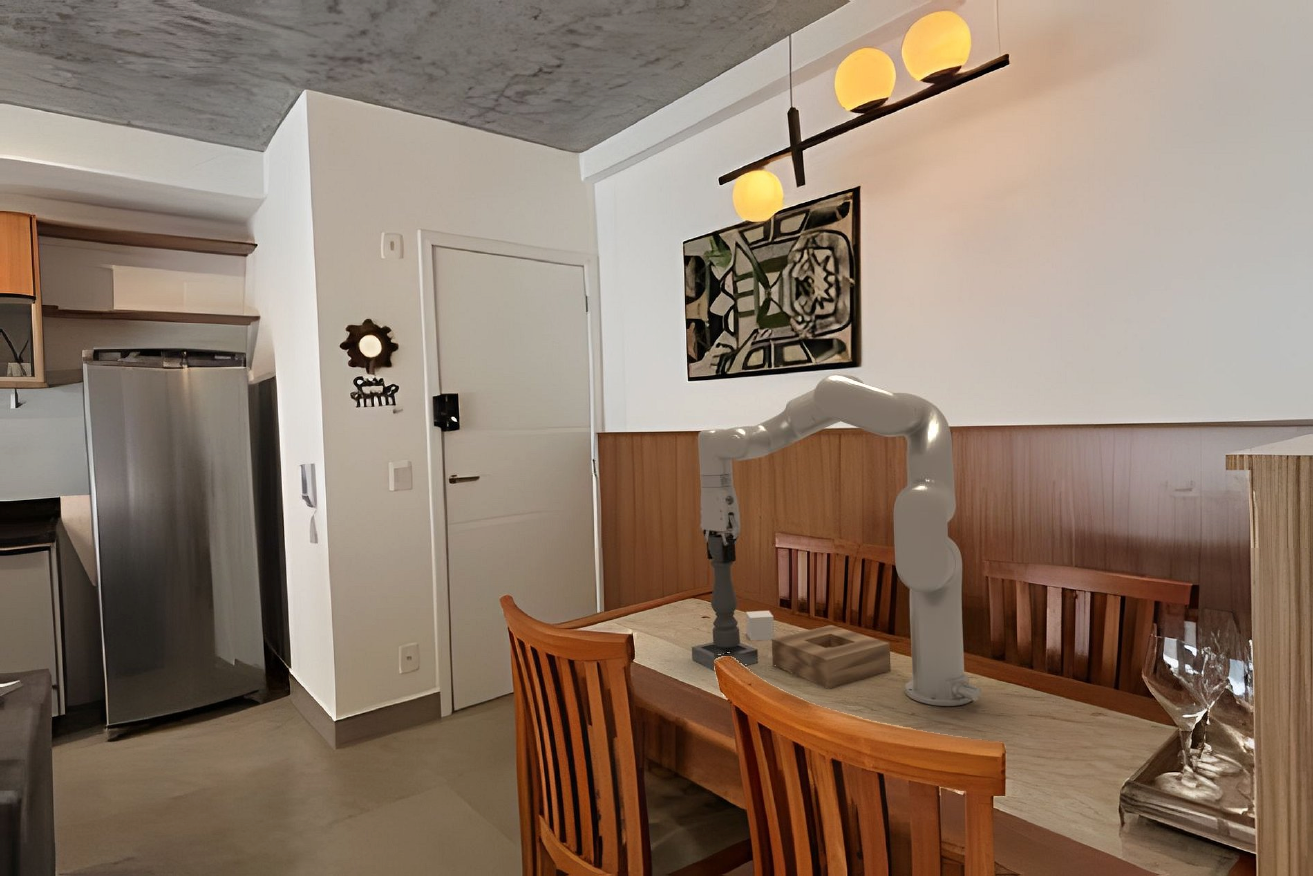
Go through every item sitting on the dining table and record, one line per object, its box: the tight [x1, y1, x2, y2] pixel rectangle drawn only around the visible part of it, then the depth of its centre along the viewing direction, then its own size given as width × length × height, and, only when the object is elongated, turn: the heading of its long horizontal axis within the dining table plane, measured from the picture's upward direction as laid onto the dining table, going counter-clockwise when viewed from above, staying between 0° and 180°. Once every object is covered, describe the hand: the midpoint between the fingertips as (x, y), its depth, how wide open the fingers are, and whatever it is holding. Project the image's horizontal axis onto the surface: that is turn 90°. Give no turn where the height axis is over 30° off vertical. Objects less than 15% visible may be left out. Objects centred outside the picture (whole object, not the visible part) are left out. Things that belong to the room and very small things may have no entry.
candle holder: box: [708, 533, 741, 647], centre depth 166 cm, size 6×6×25 cm
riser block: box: [771, 624, 892, 689], centre depth 158 cm, size 18×18×6 cm
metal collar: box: [691, 641, 759, 671], centre depth 166 cm, size 11×11×3 cm
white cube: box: [745, 610, 775, 642], centre depth 184 cm, size 6×6×6 cm
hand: (721, 559), depth 166 cm, fingers closed on candle holder, 5 cm apart
